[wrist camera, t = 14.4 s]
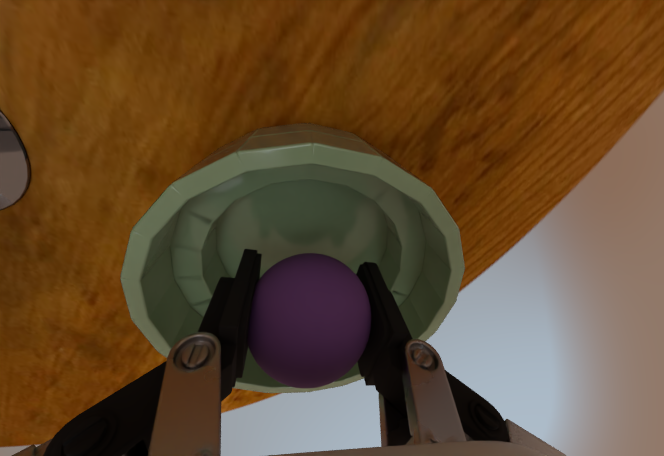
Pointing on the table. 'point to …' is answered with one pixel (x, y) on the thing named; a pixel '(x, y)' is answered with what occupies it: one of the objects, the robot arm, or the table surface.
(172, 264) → the green bowl
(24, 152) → the silver goblet
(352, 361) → the purple ball
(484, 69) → the table surface
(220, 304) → the robot arm
